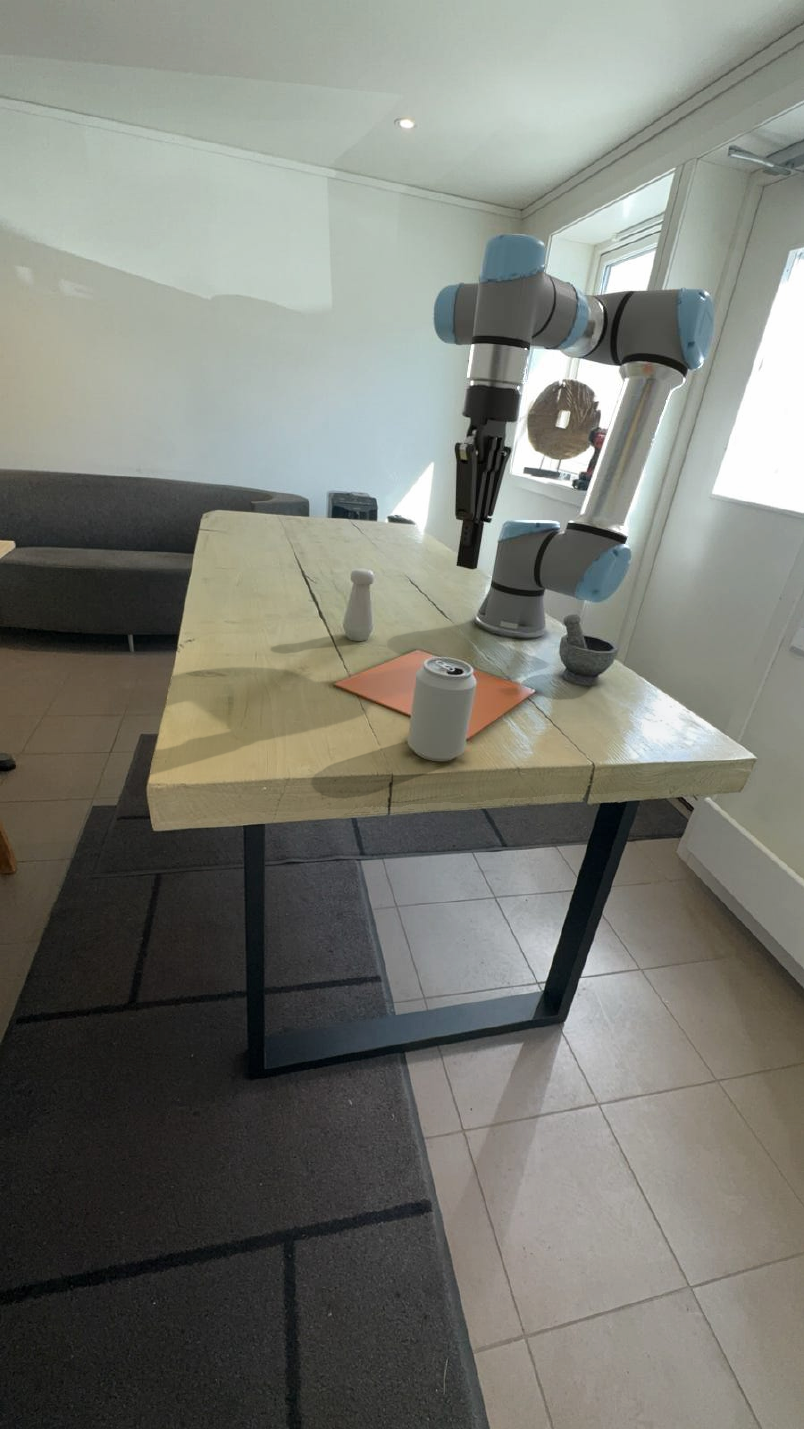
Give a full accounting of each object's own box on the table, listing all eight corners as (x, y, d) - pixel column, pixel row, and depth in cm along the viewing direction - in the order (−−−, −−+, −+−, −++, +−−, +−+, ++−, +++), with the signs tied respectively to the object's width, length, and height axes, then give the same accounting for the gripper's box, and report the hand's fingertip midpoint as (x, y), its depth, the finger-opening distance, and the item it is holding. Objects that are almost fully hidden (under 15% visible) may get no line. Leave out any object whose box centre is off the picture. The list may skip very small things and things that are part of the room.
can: (449, 771, 72) (465, 682, 67) (396, 751, 75) (407, 664, 70) (471, 747, 79) (487, 664, 73) (421, 730, 81) (433, 649, 76)
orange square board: (417, 651, 110) (417, 649, 110) (535, 691, 99) (536, 690, 99) (333, 685, 92) (333, 683, 91) (467, 740, 80) (467, 738, 80)
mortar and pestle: (587, 668, 112) (603, 607, 107) (618, 688, 105) (637, 623, 99) (536, 669, 109) (551, 606, 103) (565, 690, 101) (582, 623, 96)
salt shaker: (368, 644, 110) (375, 575, 104) (339, 639, 110) (344, 570, 105) (374, 635, 115) (381, 569, 110) (345, 630, 116) (351, 564, 110)
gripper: (490, 389, 84) (465, 556, 94) (444, 379, 74) (422, 567, 84) (539, 393, 80) (507, 566, 91) (498, 383, 70) (468, 579, 81)
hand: (466, 566), depth 87 cm, fingers closed
